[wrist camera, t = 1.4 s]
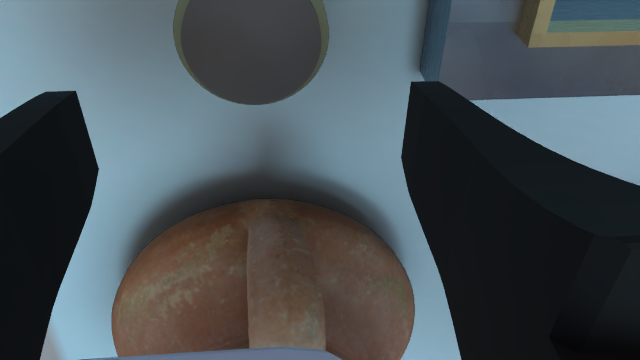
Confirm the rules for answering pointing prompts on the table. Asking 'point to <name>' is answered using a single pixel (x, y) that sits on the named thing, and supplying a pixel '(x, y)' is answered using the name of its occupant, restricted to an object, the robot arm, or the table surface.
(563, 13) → the grey square base
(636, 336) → the robot arm
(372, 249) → the ceramic jug
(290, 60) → the oil can
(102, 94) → the table surface
